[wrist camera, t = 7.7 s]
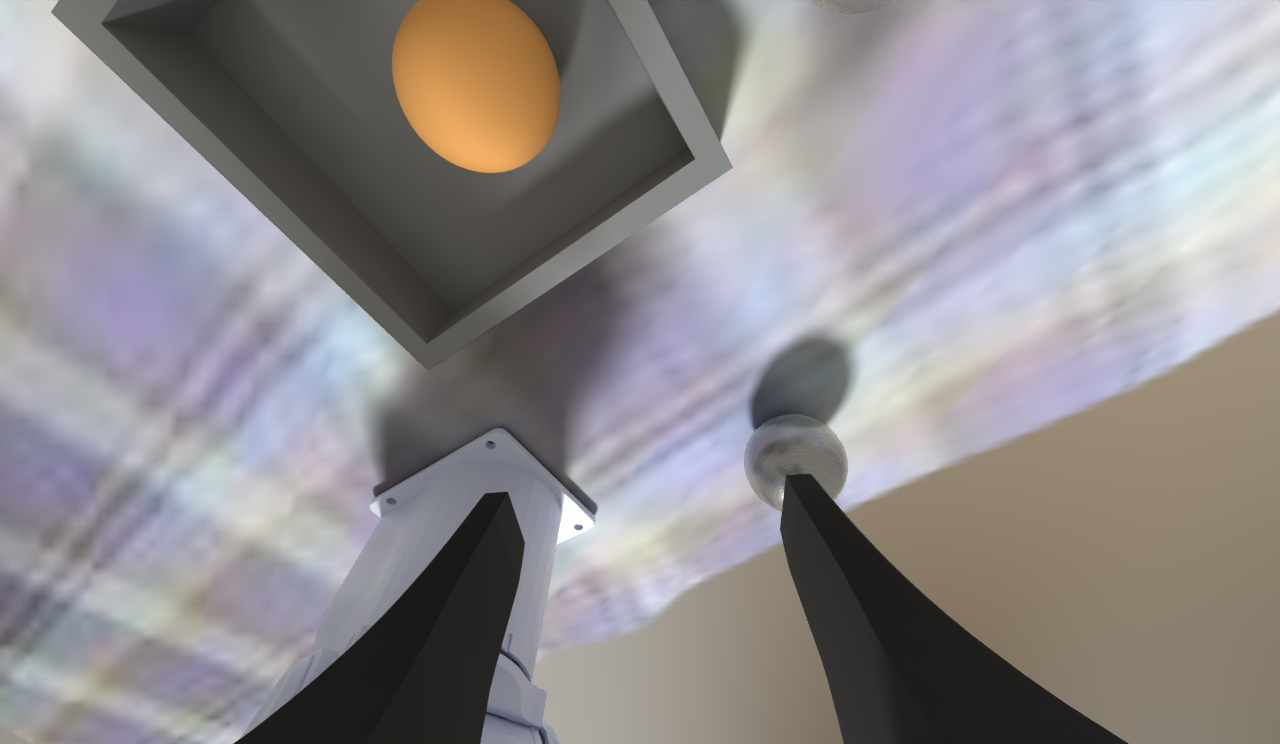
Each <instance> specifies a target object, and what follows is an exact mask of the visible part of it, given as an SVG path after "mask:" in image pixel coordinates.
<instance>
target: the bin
mask: <svg viewBox="0 0 1280 744" xmlns="http://www.w3.org/2000/svg"><path fill="white" fill-rule="evenodd" d="M418 1H419V0H59V1H58V3H57V4H56V6H55V7H54V9H53V10H52V11H51V13H52V14H53V15H54V16H56V17H57V18H58V19H59V20H60V21H61V22H62V23H63V24H64V25H65V26H66V27H67V28H68V29H69V30H70V31H71V32H72V33H73V34H74V35H76V36H77V37H78V38H79V39H80V40H81V41H82V42H83V43H84V44H85V45H86V46H87V47H88V48H89V49H90V50H91V51H92V52H93V53H94V54H96V55H97V56H98V57H99V58H100V59H101V60H102V61H103V62H104V63H105V64H106V65H107V66H108V67H109V68H110V69H111V70H112V71H113V72H114V73H116V74H117V75H118V76H119V77H120V78H121V79H122V80H123V81H124V82H125V83H126V84H127V85H128V86H129V87H130V88H131V89H132V90H133V91H134V92H135V93H137V94H138V95H139V96H140V97H141V98H142V99H143V100H144V101H145V102H146V103H147V104H148V105H149V106H150V107H151V108H152V109H153V110H154V111H155V112H157V113H158V114H159V115H160V116H161V117H162V118H163V119H164V120H165V121H166V122H167V123H168V124H169V125H170V126H171V127H172V128H173V129H174V130H175V131H177V132H178V133H179V134H180V135H181V136H182V137H183V138H184V139H185V140H186V141H187V142H188V143H189V144H190V145H191V146H192V147H193V148H194V149H195V150H197V151H198V152H199V153H200V154H201V155H202V156H203V157H204V158H205V159H206V160H207V161H208V162H209V163H210V164H211V165H212V166H213V167H214V168H215V169H217V170H218V171H219V172H220V173H221V174H222V175H223V176H224V177H225V178H226V179H227V180H228V181H229V182H230V183H231V184H232V185H233V186H234V187H235V188H236V189H238V190H239V191H240V192H241V193H242V194H243V195H244V196H245V197H246V198H247V199H248V200H249V201H250V202H251V203H252V204H253V205H254V206H255V207H256V208H258V209H259V210H260V211H261V212H262V213H263V214H264V215H265V216H266V217H267V218H268V219H269V220H270V221H271V222H272V223H273V224H274V225H275V226H276V227H278V228H279V229H280V230H281V231H282V232H283V233H284V234H285V235H286V236H287V237H288V238H289V239H290V240H291V241H292V242H293V243H294V244H295V245H296V246H298V247H299V248H300V249H301V250H302V251H303V252H304V253H305V254H306V255H307V256H308V257H309V258H310V259H311V260H312V261H313V262H314V263H315V264H316V265H318V266H319V267H320V268H321V269H322V270H323V271H324V272H325V273H326V274H327V275H328V276H329V277H330V278H331V279H332V280H333V281H334V282H335V283H336V284H337V285H339V286H340V287H341V288H342V289H343V290H344V291H345V292H346V293H347V294H348V295H349V296H350V297H351V298H352V299H353V300H354V301H355V302H356V303H357V304H359V305H360V306H361V307H362V308H363V309H364V310H365V311H366V312H367V313H368V314H369V315H370V316H371V317H372V318H373V319H374V320H375V321H376V322H377V323H379V324H380V325H381V326H382V327H383V328H384V329H385V330H386V331H387V332H388V333H389V334H390V335H391V336H392V337H393V338H394V339H395V340H396V341H397V342H399V343H400V344H401V345H402V346H403V347H404V348H405V349H406V350H407V351H408V352H409V353H410V354H411V355H412V356H413V357H414V358H415V359H416V360H417V361H419V362H420V363H421V364H422V365H423V366H424V367H425V368H426V369H427V370H429V369H431V368H432V367H434V366H435V365H437V364H438V363H440V362H441V361H443V360H444V359H446V358H447V357H449V356H450V355H452V354H453V353H455V352H456V351H458V350H459V349H461V348H462V347H464V346H466V345H467V344H469V343H470V342H472V341H473V340H475V339H476V338H478V337H479V336H481V335H482V334H484V333H485V332H487V331H488V330H490V329H491V328H493V327H494V326H496V325H497V324H499V323H500V322H502V321H503V320H505V319H506V318H508V317H509V316H511V315H512V314H514V313H515V312H517V311H518V310H520V309H521V308H523V307H524V306H526V305H527V304H529V303H530V302H532V301H533V300H535V299H536V298H538V297H539V296H541V295H542V294H544V293H545V292H547V291H548V290H550V289H551V288H553V287H554V286H556V285H557V284H559V283H560V282H562V281H563V280H565V279H566V278H568V277H569V276H571V275H572V274H574V273H575V272H577V271H578V270H580V269H581V268H583V267H584V266H586V265H587V264H589V263H590V262H592V261H593V260H595V259H596V258H598V257H599V256H601V255H602V254H604V253H605V252H607V251H608V250H610V249H611V248H613V247H614V246H616V245H617V244H619V243H620V242H622V241H623V240H625V239H626V238H628V237H629V236H631V235H632V234H634V233H635V232H637V231H638V230H640V229H641V228H643V227H644V226H646V225H647V224H649V223H650V222H652V221H653V220H655V219H656V218H658V217H659V216H661V215H662V214H664V213H666V212H667V211H669V210H670V209H672V208H673V207H675V206H676V205H678V204H679V203H681V202H682V201H684V200H685V199H687V198H688V197H690V196H691V195H693V194H694V193H696V192H697V191H699V190H700V189H702V188H703V187H705V186H706V185H708V184H709V183H711V182H712V181H714V180H715V179H717V178H718V177H720V176H721V175H723V174H724V173H726V172H727V171H729V170H730V169H732V168H733V167H732V165H731V163H730V161H729V159H728V157H727V155H726V153H725V151H724V149H723V147H722V145H721V143H720V141H719V139H718V137H717V135H716V133H715V132H714V130H713V128H712V126H711V124H710V122H709V120H708V118H707V116H706V114H705V112H704V110H703V108H702V106H701V104H700V102H699V100H698V98H697V96H696V94H695V92H694V91H693V89H692V87H691V85H690V83H689V81H688V79H687V77H686V75H685V73H684V71H683V69H682V67H681V65H680V63H679V61H678V59H677V57H676V55H675V53H674V51H673V50H672V48H671V46H670V44H669V42H668V40H667V38H666V36H665V34H664V32H663V30H662V28H661V26H660V24H659V22H658V20H657V18H656V16H655V14H654V12H653V10H652V9H651V7H650V5H649V3H648V1H647V0H509V1H511V2H512V3H514V4H515V5H516V6H518V7H519V8H520V9H521V10H522V11H523V12H524V13H525V14H527V16H528V17H529V18H530V19H531V20H532V21H533V22H534V23H535V25H536V26H537V27H538V29H539V30H540V31H541V33H542V34H543V36H544V38H545V39H546V41H547V43H548V45H549V47H550V49H551V52H552V54H553V57H554V60H555V62H556V66H557V70H558V74H559V80H560V89H561V102H560V111H559V116H558V120H557V123H556V126H555V129H554V131H553V133H552V136H551V137H550V139H549V141H548V142H547V144H546V145H545V147H544V148H543V149H542V150H541V151H540V153H539V154H537V155H536V156H535V157H534V158H533V159H532V160H530V161H529V162H527V163H526V164H524V165H522V166H520V167H518V168H515V169H512V170H509V171H505V172H498V173H483V172H476V171H472V170H468V169H465V168H462V167H460V166H457V165H455V164H453V163H451V162H449V161H448V160H446V159H445V158H443V157H442V156H440V155H439V154H437V153H436V152H435V151H434V150H432V149H431V148H430V147H429V146H428V145H427V144H426V143H425V142H424V141H423V140H422V139H421V138H420V137H419V135H418V134H417V133H416V131H415V130H414V129H413V128H412V126H411V124H410V123H409V121H408V119H407V118H406V116H405V114H404V112H403V109H402V107H401V105H400V102H399V99H398V97H397V94H396V90H395V85H394V81H393V73H392V53H393V45H394V41H395V37H396V34H397V31H398V29H399V27H400V25H401V23H402V20H403V19H404V17H405V16H406V14H407V13H408V11H409V10H410V9H411V8H412V7H413V6H414V5H415V4H416V3H417V2H418Z"/></svg>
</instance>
